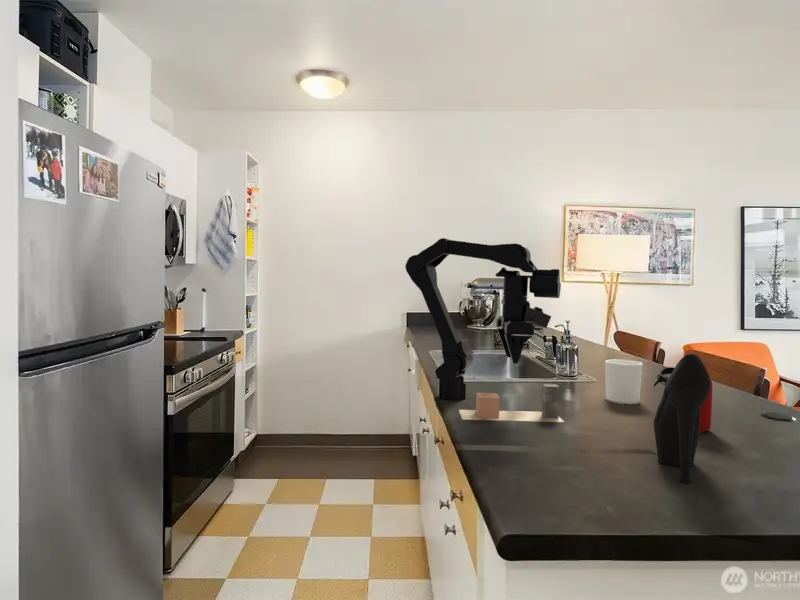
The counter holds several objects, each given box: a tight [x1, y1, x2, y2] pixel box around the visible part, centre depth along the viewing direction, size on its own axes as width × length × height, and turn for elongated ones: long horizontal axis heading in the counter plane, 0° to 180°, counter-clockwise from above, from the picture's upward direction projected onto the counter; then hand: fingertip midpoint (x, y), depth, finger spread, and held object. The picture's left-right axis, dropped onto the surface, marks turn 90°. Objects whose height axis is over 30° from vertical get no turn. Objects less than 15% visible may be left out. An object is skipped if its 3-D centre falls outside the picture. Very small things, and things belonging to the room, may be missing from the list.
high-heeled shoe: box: [653, 353, 711, 484], centre depth 82 cm, size 8×19×20 cm, turn 161°
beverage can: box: [699, 378, 713, 433], centre depth 104 cm, size 7×7×12 cm
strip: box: [458, 383, 565, 423], centre depth 109 cm, size 22×8×8 cm, turn 88°
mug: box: [604, 358, 644, 406], centre depth 129 cm, size 11×9×10 cm
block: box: [475, 392, 500, 418], centre depth 109 cm, size 4×4×4 cm
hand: (512, 360), depth 119 cm, fingers open, 9 cm apart
